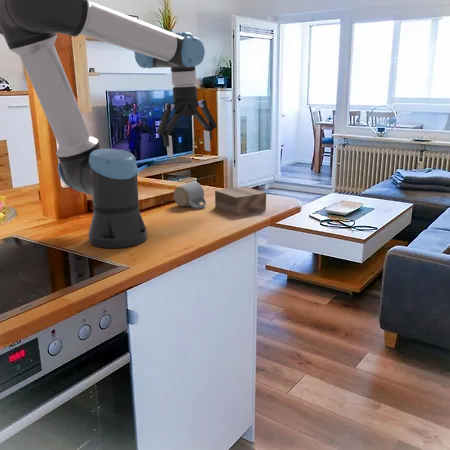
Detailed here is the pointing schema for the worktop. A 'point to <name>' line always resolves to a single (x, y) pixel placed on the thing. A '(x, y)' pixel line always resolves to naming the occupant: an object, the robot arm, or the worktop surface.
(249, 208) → the walnut box
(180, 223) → the worktop surface
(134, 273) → the worktop surface
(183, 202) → the ceramic mug
